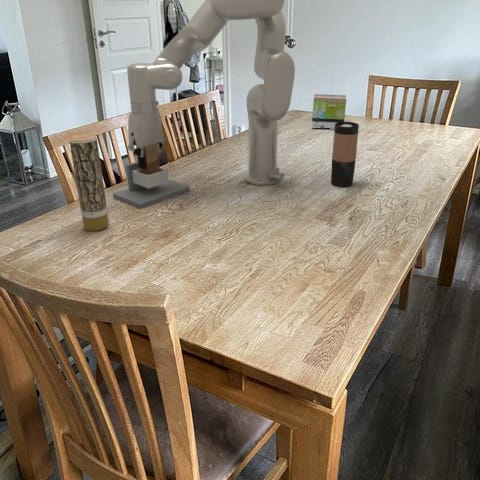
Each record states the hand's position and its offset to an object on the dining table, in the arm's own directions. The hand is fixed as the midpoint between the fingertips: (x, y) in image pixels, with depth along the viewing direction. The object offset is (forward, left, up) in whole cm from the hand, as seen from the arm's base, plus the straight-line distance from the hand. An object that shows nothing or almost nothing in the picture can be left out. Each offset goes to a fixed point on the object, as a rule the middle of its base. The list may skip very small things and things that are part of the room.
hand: (149, 166), depth 155 cm
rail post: (0, 0, -3) cm, 3 cm away
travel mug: (-41, -48, -10) cm, 64 cm away
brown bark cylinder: (-8, +26, -10) cm, 29 cm away
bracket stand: (0, 0, -9) cm, 9 cm away
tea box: (+6, -112, -10) cm, 113 cm away
